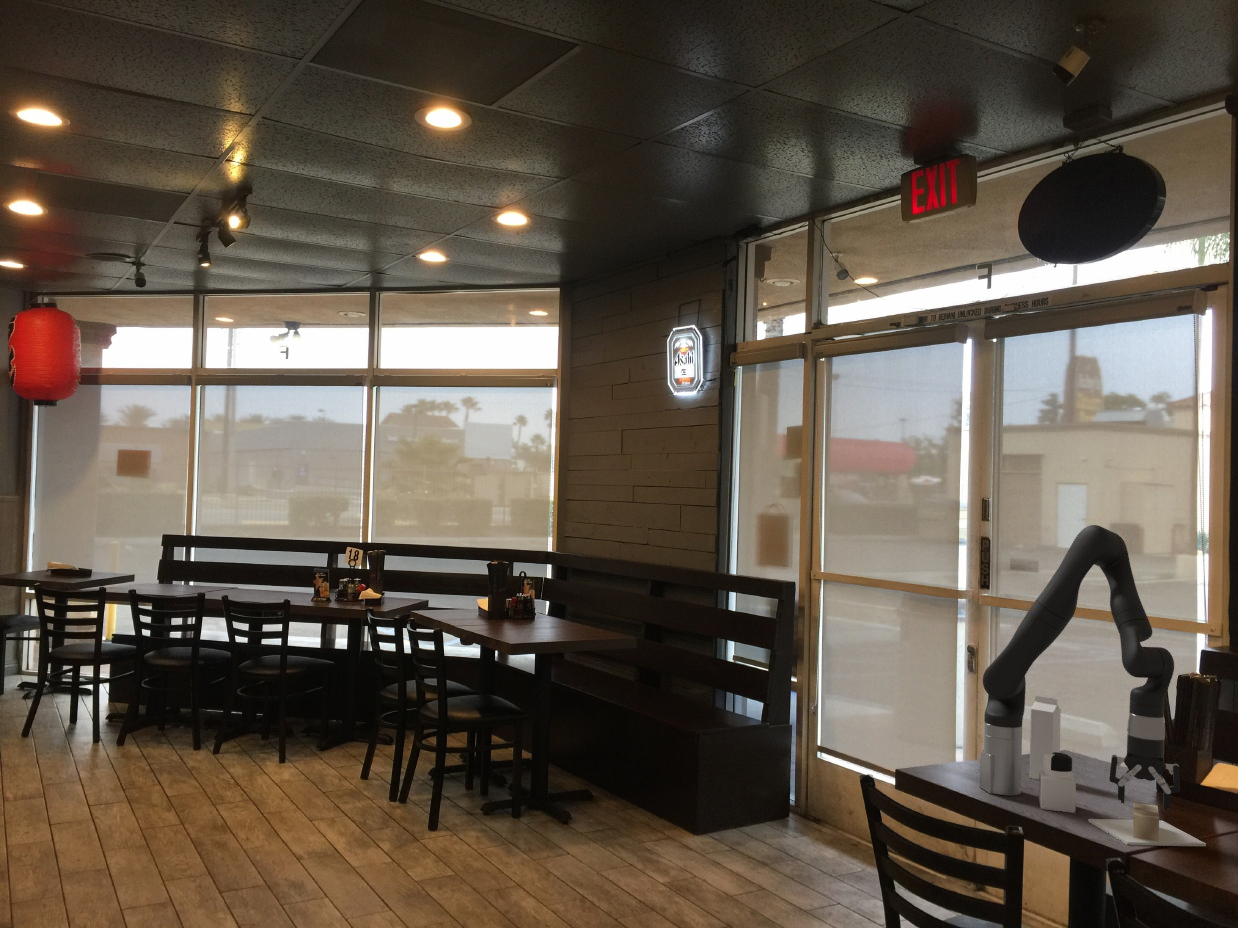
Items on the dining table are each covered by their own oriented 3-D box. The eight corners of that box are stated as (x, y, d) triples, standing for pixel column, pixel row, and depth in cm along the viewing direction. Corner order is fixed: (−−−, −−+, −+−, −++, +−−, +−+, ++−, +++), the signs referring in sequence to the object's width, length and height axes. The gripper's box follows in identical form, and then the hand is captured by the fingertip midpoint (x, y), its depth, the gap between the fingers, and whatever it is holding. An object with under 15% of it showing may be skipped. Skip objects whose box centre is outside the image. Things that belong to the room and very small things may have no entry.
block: (1158, 841, 221) (1157, 826, 231) (1159, 818, 221) (1157, 804, 231) (1133, 837, 223) (1132, 822, 234) (1133, 814, 223) (1133, 801, 234)
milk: (1051, 782, 268) (1053, 700, 269) (1028, 778, 273) (1030, 696, 273) (1059, 778, 273) (1061, 697, 274) (1036, 773, 277) (1038, 694, 278)
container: (1072, 804, 248) (1073, 752, 249) (1075, 813, 241) (1076, 759, 242) (1038, 800, 251) (1039, 748, 252) (1040, 809, 244) (1042, 755, 244)
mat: (1127, 844, 219) (1127, 841, 219) (1088, 821, 235) (1088, 818, 235) (1205, 846, 220) (1205, 843, 220) (1161, 822, 236) (1161, 820, 236)
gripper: (1180, 735, 229) (1178, 807, 228) (1111, 726, 235) (1109, 796, 235) (1182, 742, 222) (1179, 816, 221) (1110, 732, 228) (1108, 804, 228)
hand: (1143, 805), depth 228 cm, fingers open, 8 cm apart
